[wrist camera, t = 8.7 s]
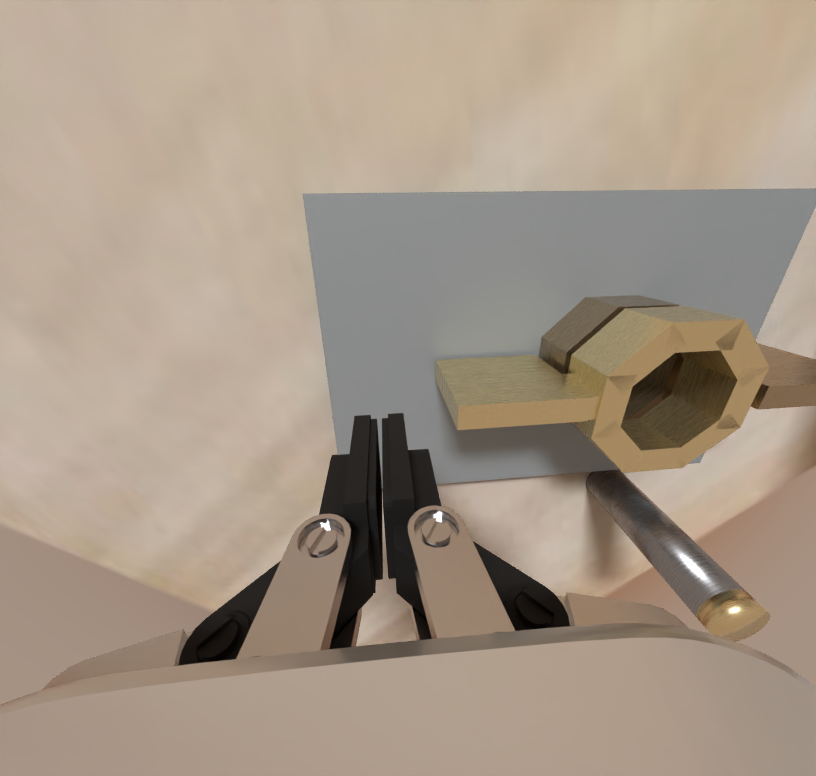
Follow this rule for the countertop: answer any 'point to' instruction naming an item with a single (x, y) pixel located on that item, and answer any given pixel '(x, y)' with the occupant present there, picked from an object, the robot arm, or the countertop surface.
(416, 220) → the slate board
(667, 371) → the fixed leaf
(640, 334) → the brass box-end wrench
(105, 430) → the countertop surface
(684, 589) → the hinge pin
